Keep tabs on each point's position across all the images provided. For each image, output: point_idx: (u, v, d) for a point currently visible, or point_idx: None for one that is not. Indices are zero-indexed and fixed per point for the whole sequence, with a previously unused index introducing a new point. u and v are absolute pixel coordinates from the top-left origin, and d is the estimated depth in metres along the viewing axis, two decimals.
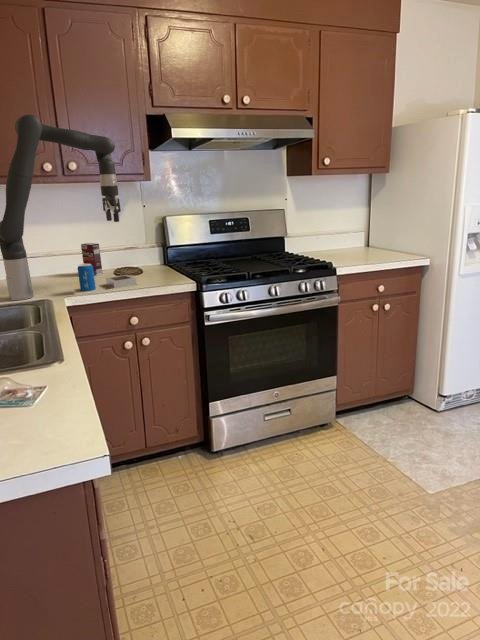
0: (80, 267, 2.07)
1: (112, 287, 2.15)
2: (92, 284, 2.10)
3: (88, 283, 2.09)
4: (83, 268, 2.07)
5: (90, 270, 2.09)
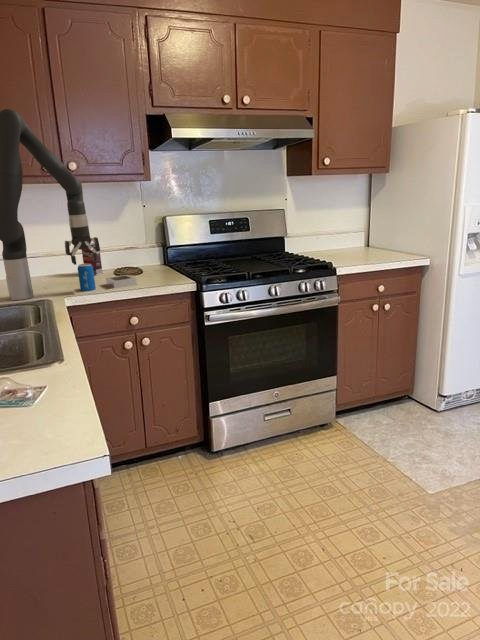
0: (80, 267, 2.07)
1: (112, 287, 2.15)
2: (92, 284, 2.10)
3: (88, 283, 2.09)
4: (83, 268, 2.07)
5: (90, 270, 2.09)
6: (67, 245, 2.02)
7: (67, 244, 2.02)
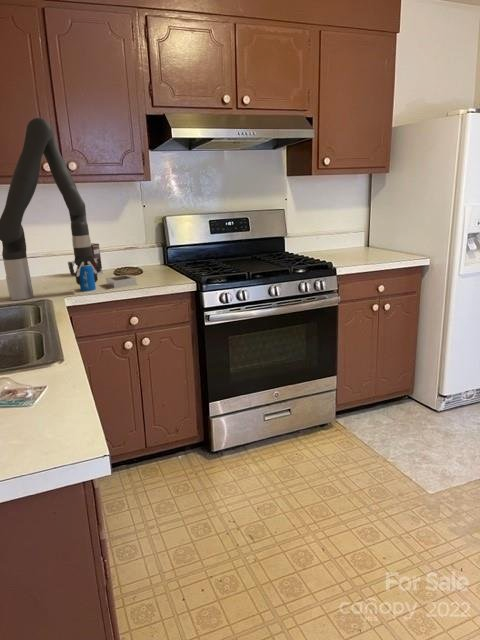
0: None
1: (112, 287, 2.15)
2: (92, 284, 2.10)
3: (88, 283, 2.09)
4: (83, 268, 2.07)
5: (90, 270, 2.09)
6: (71, 266, 2.05)
7: (70, 265, 2.05)
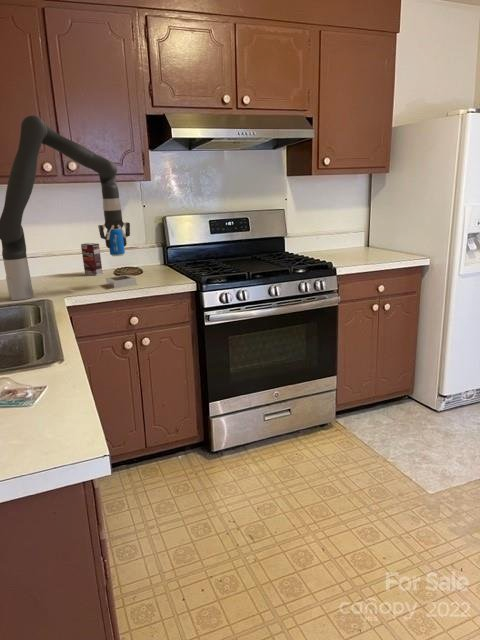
0: None
1: (112, 287, 2.15)
2: (121, 248, 2.13)
3: (118, 246, 2.12)
4: (113, 231, 2.09)
5: (120, 233, 2.11)
6: (101, 229, 2.08)
7: (101, 228, 2.08)
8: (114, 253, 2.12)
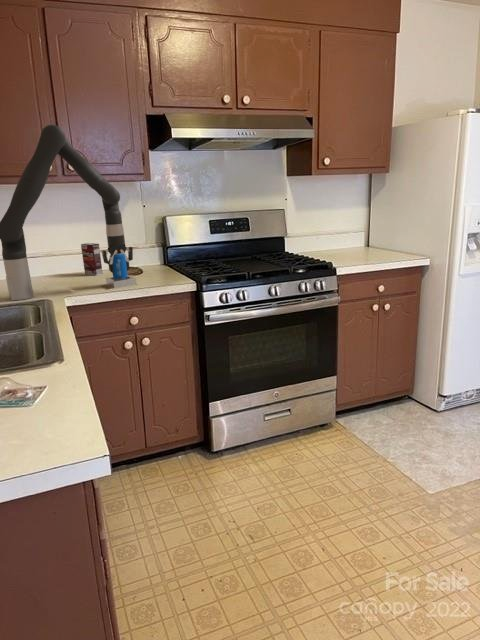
0: None
1: (112, 287, 2.15)
2: (124, 272, 2.16)
3: (121, 271, 2.15)
4: (116, 256, 2.13)
5: (123, 258, 2.14)
6: (104, 254, 2.11)
7: (104, 253, 2.11)
8: (117, 277, 2.16)
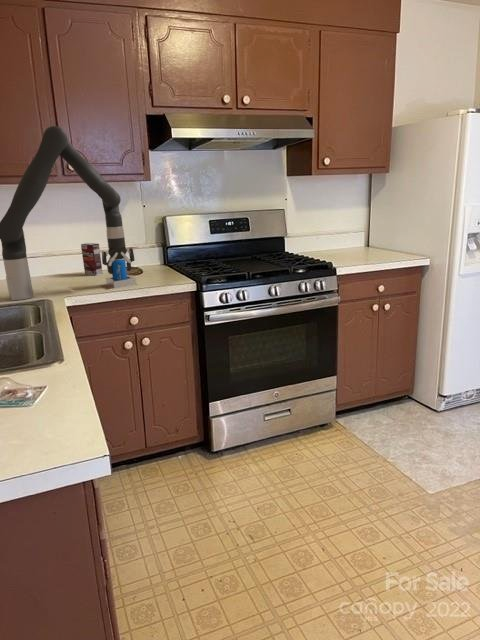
0: (113, 261, 2.14)
1: (112, 287, 2.15)
2: (125, 277, 2.17)
3: (121, 276, 2.16)
4: (116, 262, 2.14)
5: (123, 263, 2.15)
6: (104, 255, 2.11)
7: (104, 254, 2.11)
8: None
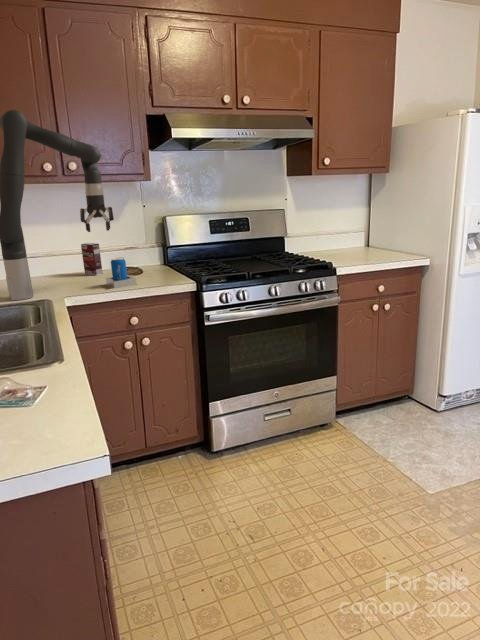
0: (114, 261, 2.14)
1: (112, 287, 2.15)
2: (125, 277, 2.17)
3: (121, 276, 2.16)
4: (117, 262, 2.13)
5: (123, 263, 2.15)
6: (82, 212, 2.10)
7: (82, 211, 2.10)
8: None
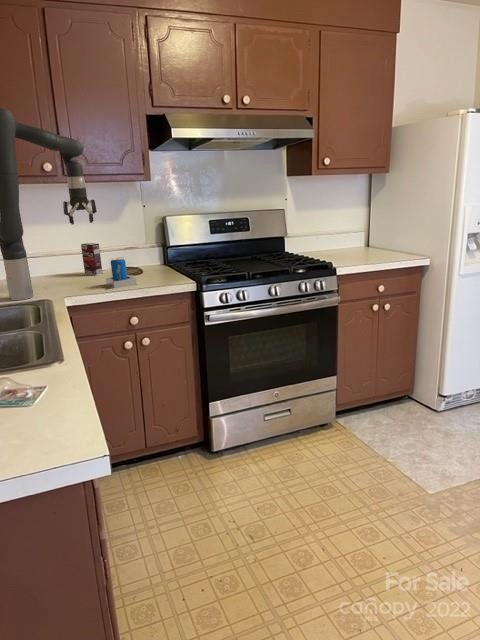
0: (113, 261, 2.14)
1: (112, 287, 2.15)
2: (125, 277, 2.17)
3: (121, 276, 2.16)
4: (116, 262, 2.13)
5: (123, 263, 2.15)
6: (65, 205, 2.15)
7: (65, 204, 2.14)
8: None
